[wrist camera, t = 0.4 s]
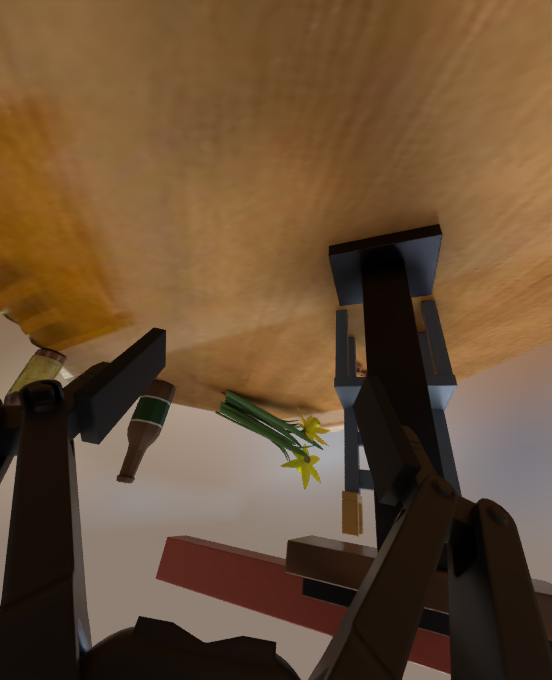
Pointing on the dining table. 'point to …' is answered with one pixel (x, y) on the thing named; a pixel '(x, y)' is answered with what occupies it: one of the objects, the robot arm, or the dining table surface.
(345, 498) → the chair
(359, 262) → the stand
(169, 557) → the hanger bar
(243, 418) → the daffodil flowers
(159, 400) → the beer bottle
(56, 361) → the sauce bottle
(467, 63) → the dining table surface
